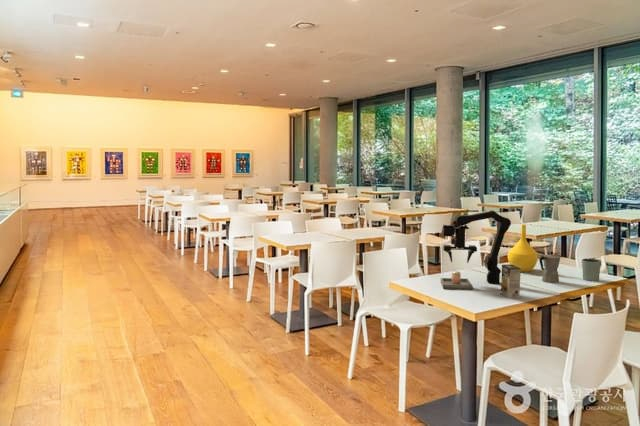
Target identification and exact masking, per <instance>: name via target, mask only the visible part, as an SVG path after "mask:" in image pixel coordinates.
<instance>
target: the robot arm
mask: <svg viewBox="0 0 640 426" xmlns="http://www.w3.org/2000/svg"><path fill="white" fill-rule="evenodd" d="M487 219H493V220H494V221H495V222H496V233H495V236H494V240H493V242H492V245H491V249H490V252H489V254H488V255H485V256H484V260H483V266H484V267H485V268H486V269H487V274H486V282H487V283H488V284H492V285H493V284H495V285H496V284H497V285H498V284H501V280H500V278H501V277H500V276H501V275H500V274H501V273H502V269H501V268H499V266H498V265H499V263H498V262H499V261H498V259H499V258H498V257H499V253H500V250H501V246H502V244H503V241H504V237H505V234H506V233H507V231H508V230H509V229H510V227H511V225H512V223H511V222H512V221H511V219H509V218H508V217H505V216H502V215H500V214H499V213H498V212H496V211H494V210H493V209H492V210H491V209H490V210H488V211H484V212H478V213H474V214H457V215H455V217H454V220H453V222H451V224H450V225H449V224H447V225H446V224H442V228H441V235H442V237H444V238H445V237H451V240H450V244H444V245H443V247H442V250H443V251H444V252H446V253H447V254H448V256H449V261H450V262H451V263H453V256H452V255H453V253H452V251H454V250H458V251H461V250H462V251H467V258H466V263H467V264H469V262H470V260H471V257H472V256H473V254H475V252H477V251H478V247H477V246H476V245H471V244H470V245H468V246H466V230H469V229H470V227H468V225H467V224H470V223H472V222H478V221H483V220H487ZM453 236H454V238H452V237H453Z"/></svg>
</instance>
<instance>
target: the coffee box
mask: <svg viewBox="0 0 640 426" xmlns="http://www.w3.org/2000/svg"><path fill="white" fill-rule="evenodd" d="M521 273H522V272H521V268H519V267H517V266H515V265H510V264H508V263H507V264H501V280H500V284H501V285H500V288H501V290H500V293H501V294H502V295H503V296H504V297H506V298H507V299H520V291H521V290H520V289H521V288H520V287H521Z"/></svg>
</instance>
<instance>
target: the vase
mask: <svg viewBox="0 0 640 426" xmlns="http://www.w3.org/2000/svg"><path fill="white" fill-rule="evenodd" d="M538 256H539V255H538V252H537V251H536V250H535V248H534V247H532V246H531V244H530V243H529V242H528V241H527V225H526V224H521V229H520V239H519V241H518V242H517V243H516V244H515V245H514V246H513V247H512V248H511V249H509V250H508V253H507V260H508V263H509V264H508V265H515V266H517V267H519V268H521V272H520V273H522V272H523V273H528V272H531V271H533V270H534V268H535V267H536V265H537V263H538V261H539V260H538V259H539V257H538Z"/></svg>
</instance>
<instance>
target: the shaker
mask: <svg viewBox="0 0 640 426" xmlns="http://www.w3.org/2000/svg"><path fill="white" fill-rule="evenodd" d="M461 275H462V274H461V272H460V271H455V270H454V271H451V278H452V281H451V284H453V285H460V280H461V279H462V278H461Z"/></svg>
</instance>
